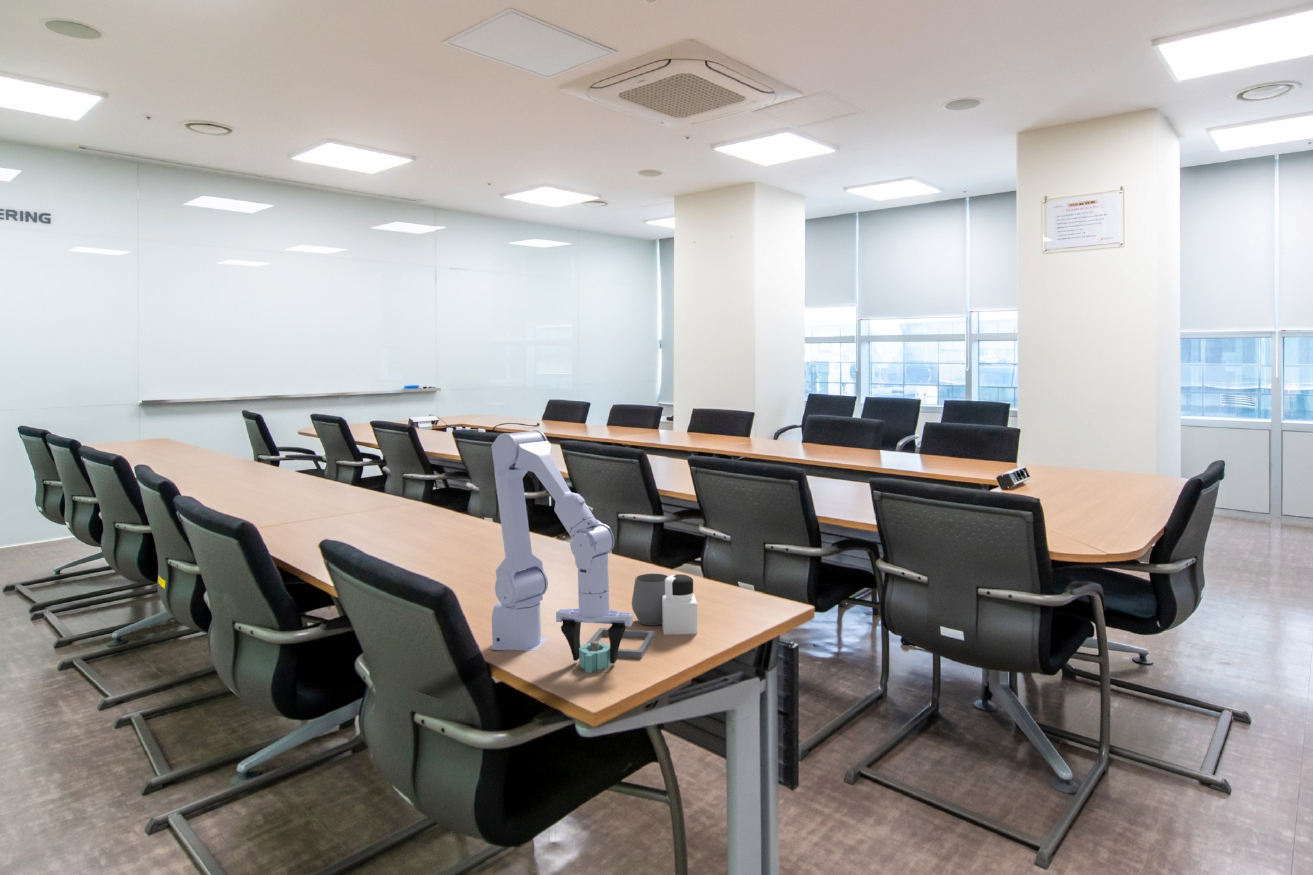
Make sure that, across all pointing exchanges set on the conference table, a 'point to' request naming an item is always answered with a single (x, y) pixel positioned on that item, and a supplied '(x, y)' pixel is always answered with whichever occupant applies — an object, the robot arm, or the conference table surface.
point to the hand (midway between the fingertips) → (595, 659)
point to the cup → (649, 598)
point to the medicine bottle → (679, 606)
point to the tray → (629, 633)
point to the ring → (594, 657)
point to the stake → (578, 668)
